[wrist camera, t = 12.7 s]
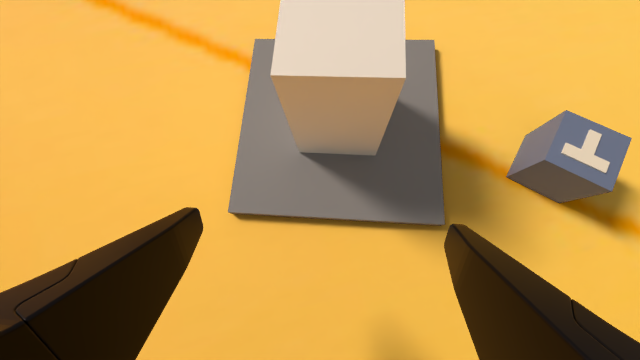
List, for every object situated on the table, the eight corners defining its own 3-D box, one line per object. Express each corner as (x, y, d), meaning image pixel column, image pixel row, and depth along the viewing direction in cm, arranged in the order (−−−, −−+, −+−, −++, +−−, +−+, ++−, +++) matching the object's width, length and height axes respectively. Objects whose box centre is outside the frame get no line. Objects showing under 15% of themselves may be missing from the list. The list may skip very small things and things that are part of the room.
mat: (440, 225, 20) (444, 224, 19) (231, 213, 21) (228, 212, 20) (431, 46, 24) (434, 40, 23) (257, 45, 25) (255, 38, 24)
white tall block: (375, 155, 21) (405, 77, 11) (299, 152, 21) (270, 75, 12) (376, 88, 22) (404, -27, 13) (305, 86, 23) (284, -26, 14)
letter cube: (558, 203, 20) (613, 191, 16) (505, 177, 20) (545, 159, 17) (576, 159, 20) (633, 137, 17) (524, 136, 21) (567, 109, 17)
